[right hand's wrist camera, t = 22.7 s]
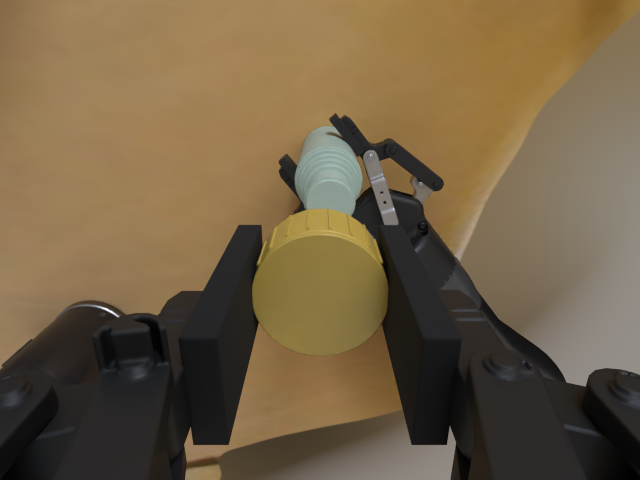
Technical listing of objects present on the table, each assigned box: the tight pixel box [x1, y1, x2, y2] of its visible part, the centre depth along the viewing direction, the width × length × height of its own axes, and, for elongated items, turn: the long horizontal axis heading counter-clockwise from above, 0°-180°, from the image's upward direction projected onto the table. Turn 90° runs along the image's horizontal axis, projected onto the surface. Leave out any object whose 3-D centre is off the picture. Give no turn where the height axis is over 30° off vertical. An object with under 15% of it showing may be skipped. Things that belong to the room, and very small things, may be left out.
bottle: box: [295, 126, 362, 216], centre depth 33 cm, size 5×5×19 cm
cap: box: [252, 208, 389, 356], centre depth 13 cm, size 4×4×2 cm
